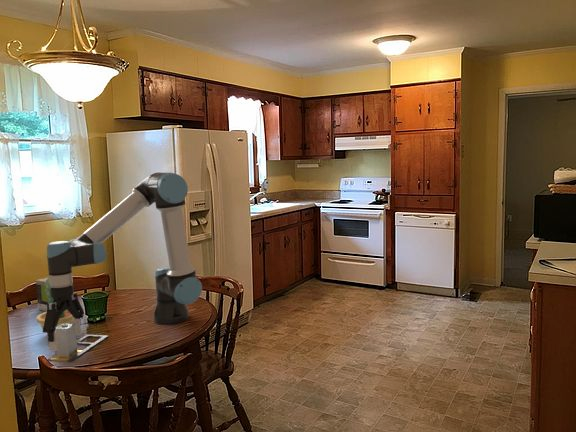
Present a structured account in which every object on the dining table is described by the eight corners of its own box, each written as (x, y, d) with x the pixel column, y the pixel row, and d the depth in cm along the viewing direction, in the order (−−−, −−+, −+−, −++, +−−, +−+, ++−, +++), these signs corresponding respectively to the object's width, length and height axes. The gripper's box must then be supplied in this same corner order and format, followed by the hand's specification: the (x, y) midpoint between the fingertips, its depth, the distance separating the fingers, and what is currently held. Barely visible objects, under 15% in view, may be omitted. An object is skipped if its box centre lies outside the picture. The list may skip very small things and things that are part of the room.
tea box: (75, 308, 232) (73, 278, 230) (55, 314, 224) (53, 283, 222) (57, 304, 240) (54, 275, 238) (37, 310, 232) (34, 279, 230)
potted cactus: (82, 334, 197) (77, 274, 194) (40, 343, 189) (34, 280, 186) (75, 324, 210) (71, 267, 207) (35, 331, 202) (30, 273, 199)
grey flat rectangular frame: (108, 336, 194) (108, 335, 194) (71, 361, 171) (71, 360, 171) (86, 335, 196) (86, 334, 196) (47, 360, 173) (47, 359, 173)
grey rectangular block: (77, 353, 178) (75, 323, 177) (69, 358, 173) (66, 328, 172) (65, 352, 179) (62, 322, 178) (56, 357, 174) (53, 327, 173)
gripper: (73, 276, 186) (77, 329, 188) (27, 294, 161) (32, 355, 164) (91, 276, 184) (95, 330, 187) (47, 295, 160) (52, 357, 163)
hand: (66, 342), depth 176 cm, fingers open, 13 cm apart
